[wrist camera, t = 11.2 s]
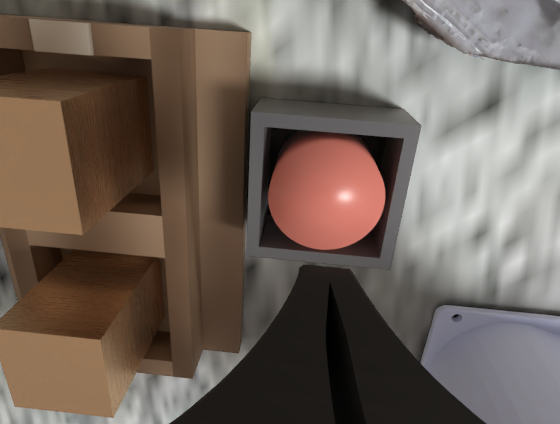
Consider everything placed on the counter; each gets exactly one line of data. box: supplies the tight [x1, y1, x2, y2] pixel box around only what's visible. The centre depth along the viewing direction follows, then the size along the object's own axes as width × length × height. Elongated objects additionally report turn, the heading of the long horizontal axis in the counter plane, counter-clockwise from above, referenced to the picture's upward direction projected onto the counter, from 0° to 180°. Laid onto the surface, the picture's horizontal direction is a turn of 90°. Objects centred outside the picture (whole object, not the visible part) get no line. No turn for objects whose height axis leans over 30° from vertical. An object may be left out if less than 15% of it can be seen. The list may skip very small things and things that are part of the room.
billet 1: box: [0, 68, 154, 235], centre depth 14 cm, size 4×4×6 cm
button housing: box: [246, 98, 421, 270], centre depth 17 cm, size 6×6×3 cm
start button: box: [268, 130, 385, 250], centre depth 16 cm, size 4×4×3 cm
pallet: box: [0, 14, 251, 379], centre depth 18 cm, size 12×16×3 cm
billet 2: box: [0, 249, 165, 418], centre depth 18 cm, size 4×4×6 cm
